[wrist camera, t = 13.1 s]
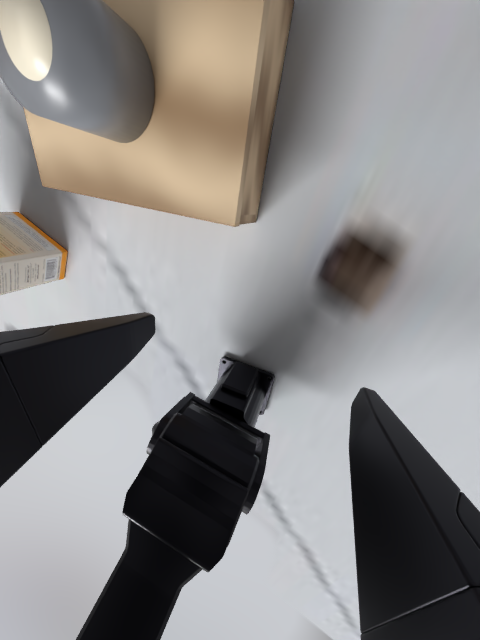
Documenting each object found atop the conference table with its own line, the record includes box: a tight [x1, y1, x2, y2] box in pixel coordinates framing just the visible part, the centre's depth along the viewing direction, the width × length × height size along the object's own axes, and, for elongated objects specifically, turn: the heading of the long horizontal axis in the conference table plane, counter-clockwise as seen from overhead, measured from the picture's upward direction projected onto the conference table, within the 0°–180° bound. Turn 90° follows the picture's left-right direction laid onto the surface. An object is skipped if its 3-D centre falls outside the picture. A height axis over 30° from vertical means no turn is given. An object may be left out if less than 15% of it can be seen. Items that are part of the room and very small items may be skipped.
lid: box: [23, 0, 271, 227], centre depth 13 cm, size 12×17×1 cm
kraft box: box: [239, 0, 294, 225], centre depth 16 cm, size 12×16×5 cm
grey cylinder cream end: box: [0, 0, 154, 143], centre depth 11 cm, size 5×5×5 cm
